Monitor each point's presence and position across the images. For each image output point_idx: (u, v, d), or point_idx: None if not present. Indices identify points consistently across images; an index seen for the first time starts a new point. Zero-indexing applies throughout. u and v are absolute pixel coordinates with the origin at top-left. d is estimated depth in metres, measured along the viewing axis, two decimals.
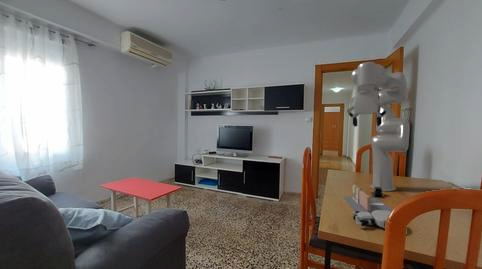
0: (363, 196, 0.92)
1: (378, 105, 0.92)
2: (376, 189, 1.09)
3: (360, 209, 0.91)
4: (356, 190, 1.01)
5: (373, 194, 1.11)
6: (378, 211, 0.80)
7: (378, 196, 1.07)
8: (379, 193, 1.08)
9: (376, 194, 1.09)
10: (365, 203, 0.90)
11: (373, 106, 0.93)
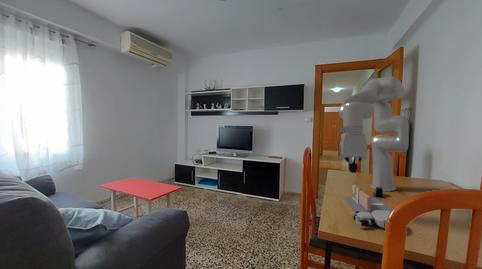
0: (363, 196, 0.92)
1: None
2: (377, 189, 1.09)
3: (360, 209, 0.91)
4: (356, 190, 1.01)
5: (374, 194, 1.11)
6: (378, 211, 0.80)
7: (379, 196, 1.07)
8: (380, 193, 1.08)
9: (377, 194, 1.09)
10: (365, 203, 0.90)
11: None
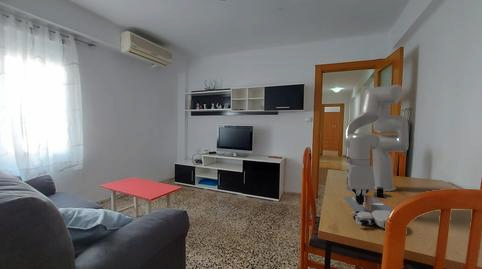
0: (364, 196, 0.92)
1: None
2: (378, 189, 1.09)
3: (360, 209, 0.91)
4: None
5: (375, 194, 1.11)
6: (378, 211, 0.80)
7: (379, 196, 1.07)
8: (380, 193, 1.08)
9: (377, 194, 1.09)
10: (366, 203, 0.90)
11: None
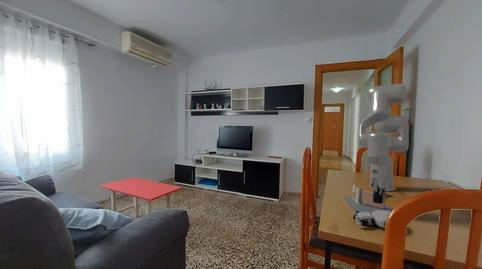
0: None
1: (371, 180, 0.87)
2: None
3: (360, 209, 0.91)
4: (356, 190, 1.01)
5: None
6: (378, 211, 0.80)
7: None
8: None
9: None
10: None
11: None
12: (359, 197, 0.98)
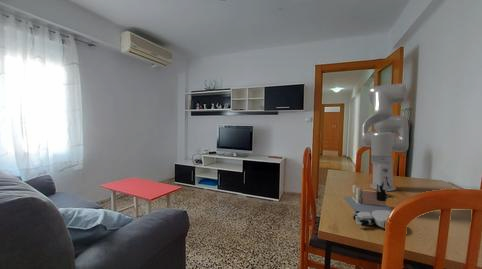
0: (374, 194, 0.95)
1: (381, 179, 0.88)
2: None
3: (360, 209, 0.91)
4: (356, 190, 1.01)
5: None
6: (378, 211, 0.80)
7: None
8: None
9: None
10: None
11: (378, 179, 0.89)
12: (359, 197, 0.98)
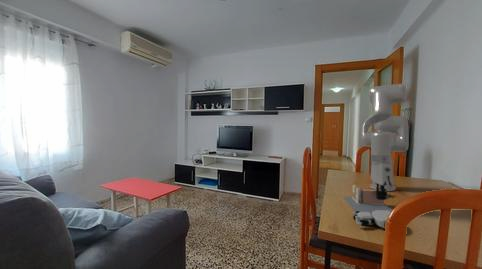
0: (374, 193, 0.96)
1: (384, 178, 0.89)
2: None
3: (360, 209, 0.91)
4: (356, 190, 1.01)
5: None
6: (378, 211, 0.80)
7: None
8: None
9: None
10: None
11: (379, 178, 0.91)
12: (359, 197, 0.98)
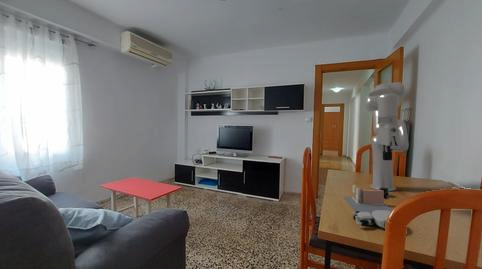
0: (374, 193, 0.96)
1: (390, 139, 0.91)
2: (380, 189, 1.08)
3: (360, 209, 0.91)
4: (356, 190, 1.01)
5: None
6: (378, 211, 0.80)
7: None
8: None
9: None
10: (379, 198, 0.96)
11: (385, 139, 0.93)
12: (359, 197, 0.98)
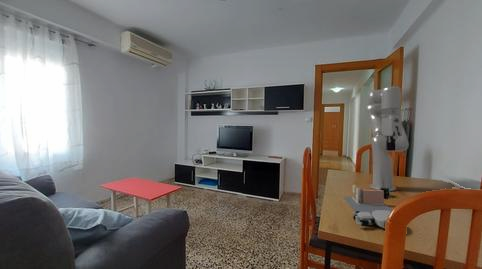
0: (374, 193, 0.96)
1: (393, 129, 0.95)
2: (381, 189, 1.08)
3: (360, 209, 0.91)
4: (356, 190, 1.01)
5: None
6: (378, 211, 0.80)
7: None
8: (384, 194, 1.07)
9: None
10: (379, 198, 0.96)
11: (389, 129, 0.97)
12: (359, 197, 0.98)
